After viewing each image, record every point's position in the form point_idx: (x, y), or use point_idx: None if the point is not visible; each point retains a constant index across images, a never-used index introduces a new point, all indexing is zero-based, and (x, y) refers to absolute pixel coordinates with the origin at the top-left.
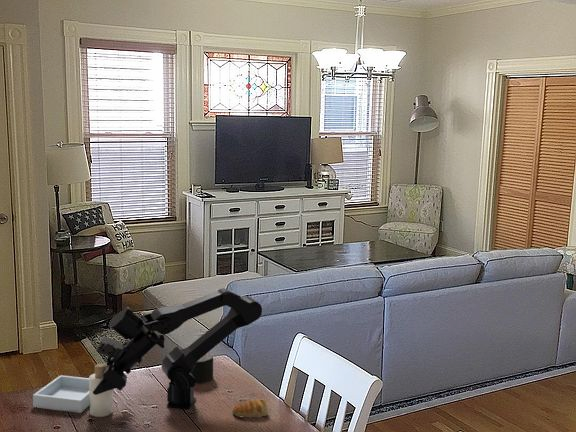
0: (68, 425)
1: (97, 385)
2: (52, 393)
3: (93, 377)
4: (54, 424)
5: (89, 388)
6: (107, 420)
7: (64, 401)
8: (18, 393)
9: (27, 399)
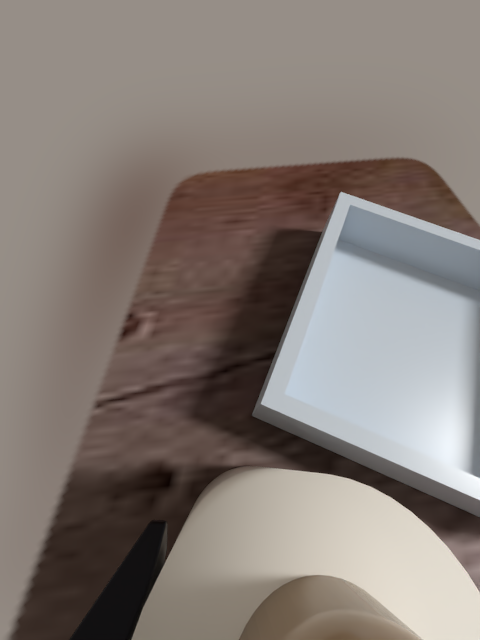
0: (127, 369)
1: (122, 622)
2: (434, 276)
3: (293, 548)
4: (155, 312)
5: (249, 473)
6: None
7: (290, 320)
8: (428, 185)
9: None
